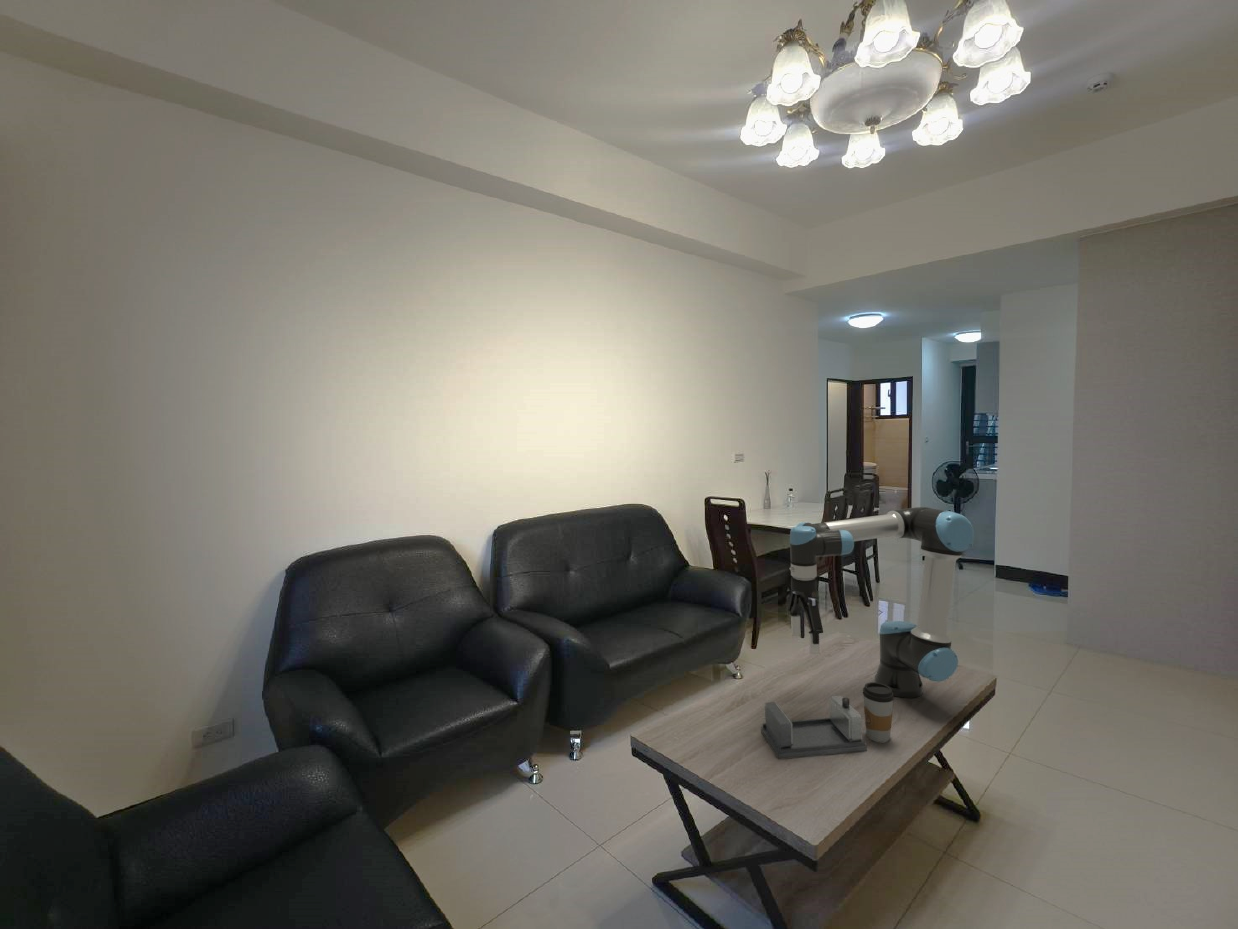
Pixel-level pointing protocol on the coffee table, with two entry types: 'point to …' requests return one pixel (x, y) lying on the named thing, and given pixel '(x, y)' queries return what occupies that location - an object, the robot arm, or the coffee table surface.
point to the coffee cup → (878, 711)
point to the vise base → (804, 736)
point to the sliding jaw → (846, 718)
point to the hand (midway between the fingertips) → (804, 644)
